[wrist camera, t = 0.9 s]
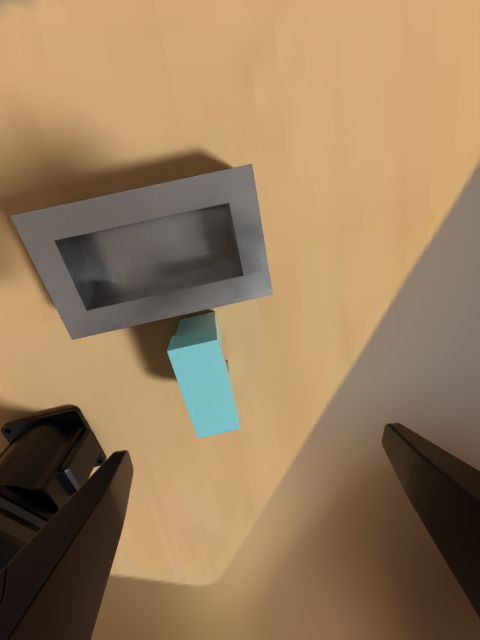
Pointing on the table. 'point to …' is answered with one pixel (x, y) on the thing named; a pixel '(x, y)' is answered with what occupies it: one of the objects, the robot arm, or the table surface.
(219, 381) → the light blue rectangular block
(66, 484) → the robot arm
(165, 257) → the grey slotted tray
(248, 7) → the table surface
